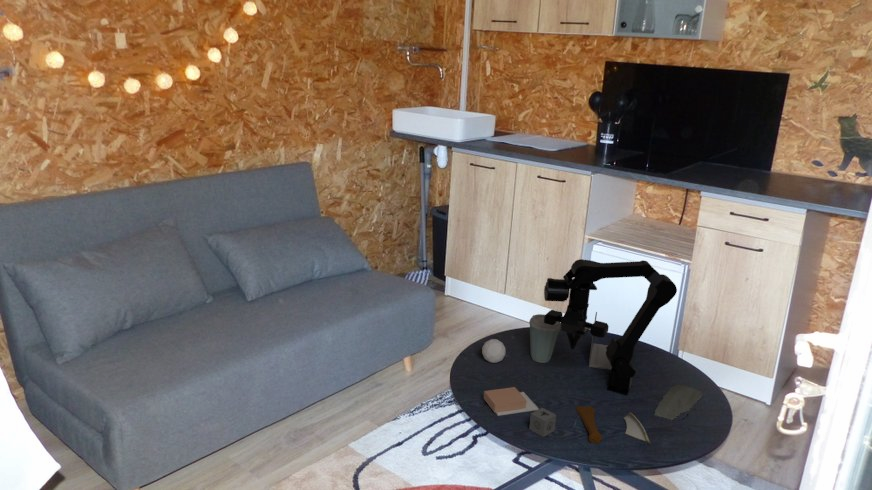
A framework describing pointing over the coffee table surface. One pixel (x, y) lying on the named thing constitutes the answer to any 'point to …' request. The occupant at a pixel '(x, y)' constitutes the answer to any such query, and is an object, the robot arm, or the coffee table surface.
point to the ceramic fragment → (635, 428)
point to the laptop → (598, 355)
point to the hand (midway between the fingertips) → (572, 348)
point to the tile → (504, 399)
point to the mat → (529, 407)
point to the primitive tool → (589, 423)
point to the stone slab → (677, 401)
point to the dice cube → (542, 422)
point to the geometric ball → (493, 351)
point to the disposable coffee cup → (542, 338)
